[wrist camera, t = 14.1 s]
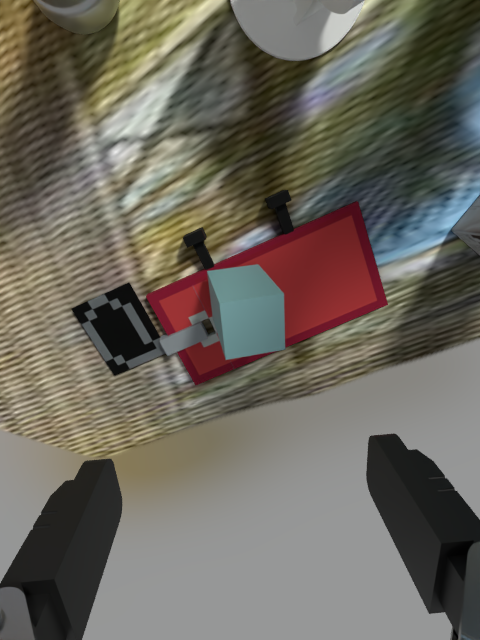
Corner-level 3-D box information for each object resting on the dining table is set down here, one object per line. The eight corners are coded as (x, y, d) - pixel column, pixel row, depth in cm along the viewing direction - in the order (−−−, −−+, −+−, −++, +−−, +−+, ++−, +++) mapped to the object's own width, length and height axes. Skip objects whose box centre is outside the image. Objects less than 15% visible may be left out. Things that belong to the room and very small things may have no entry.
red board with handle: (64, 289, 35) (137, 403, 40) (52, 297, 33) (132, 418, 38) (341, 163, 33) (381, 300, 38) (352, 160, 30) (394, 308, 35)
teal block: (206, 271, 33) (219, 303, 26) (258, 264, 34) (283, 293, 27) (212, 318, 35) (225, 359, 28) (260, 310, 36) (285, 349, 29)
